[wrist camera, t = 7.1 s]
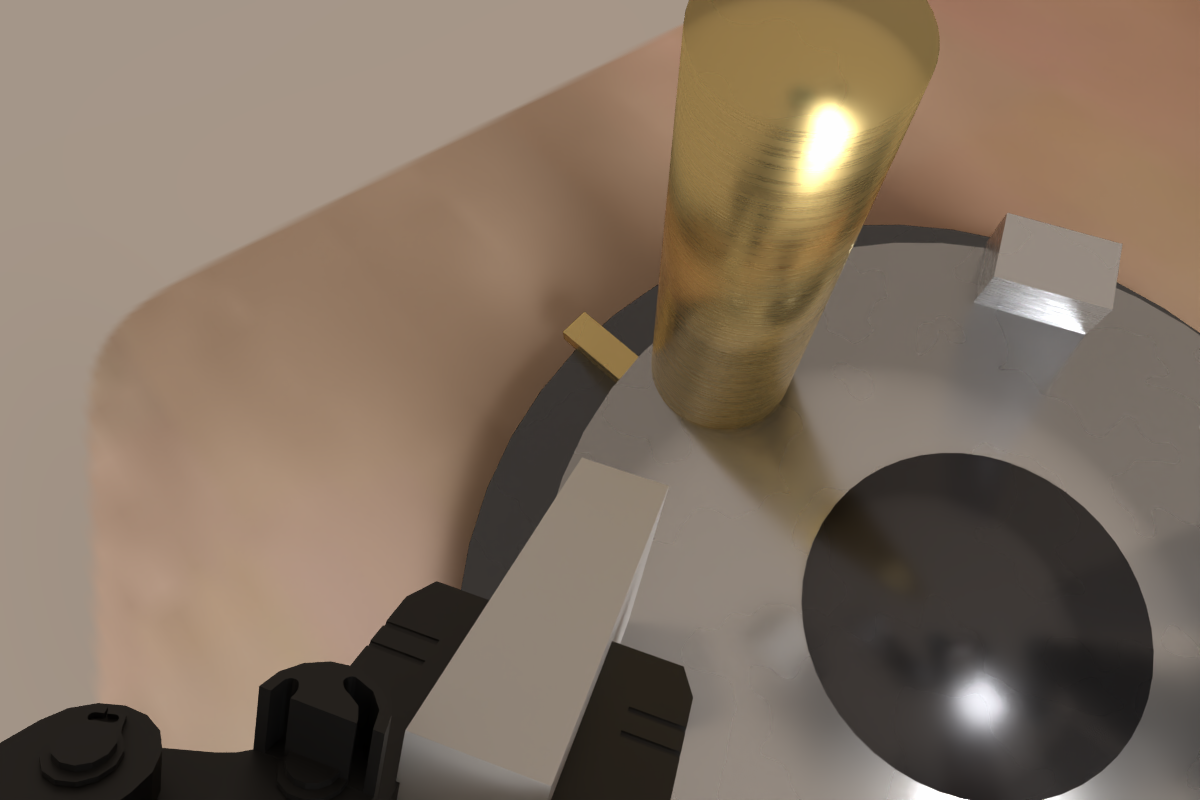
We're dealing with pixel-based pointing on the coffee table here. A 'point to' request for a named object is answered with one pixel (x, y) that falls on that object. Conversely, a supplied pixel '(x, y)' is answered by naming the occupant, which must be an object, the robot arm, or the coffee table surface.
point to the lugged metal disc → (899, 456)
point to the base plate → (571, 405)
